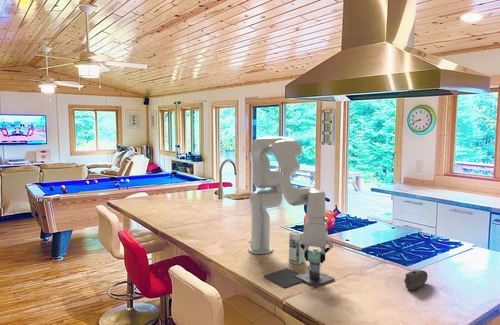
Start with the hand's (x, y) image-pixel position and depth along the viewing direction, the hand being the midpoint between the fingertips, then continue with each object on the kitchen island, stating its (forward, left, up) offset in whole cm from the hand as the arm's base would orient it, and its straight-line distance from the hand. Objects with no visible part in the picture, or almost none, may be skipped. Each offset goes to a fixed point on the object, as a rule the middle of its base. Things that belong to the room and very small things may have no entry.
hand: (314, 260), depth 158 cm
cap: (0, 0, 0) cm, 0 cm away
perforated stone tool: (+30, +28, -8) cm, 42 cm away
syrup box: (-19, +8, -8) cm, 22 cm away
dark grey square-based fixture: (0, 0, -8) cm, 8 cm away
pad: (-8, -9, -8) cm, 14 cm away
